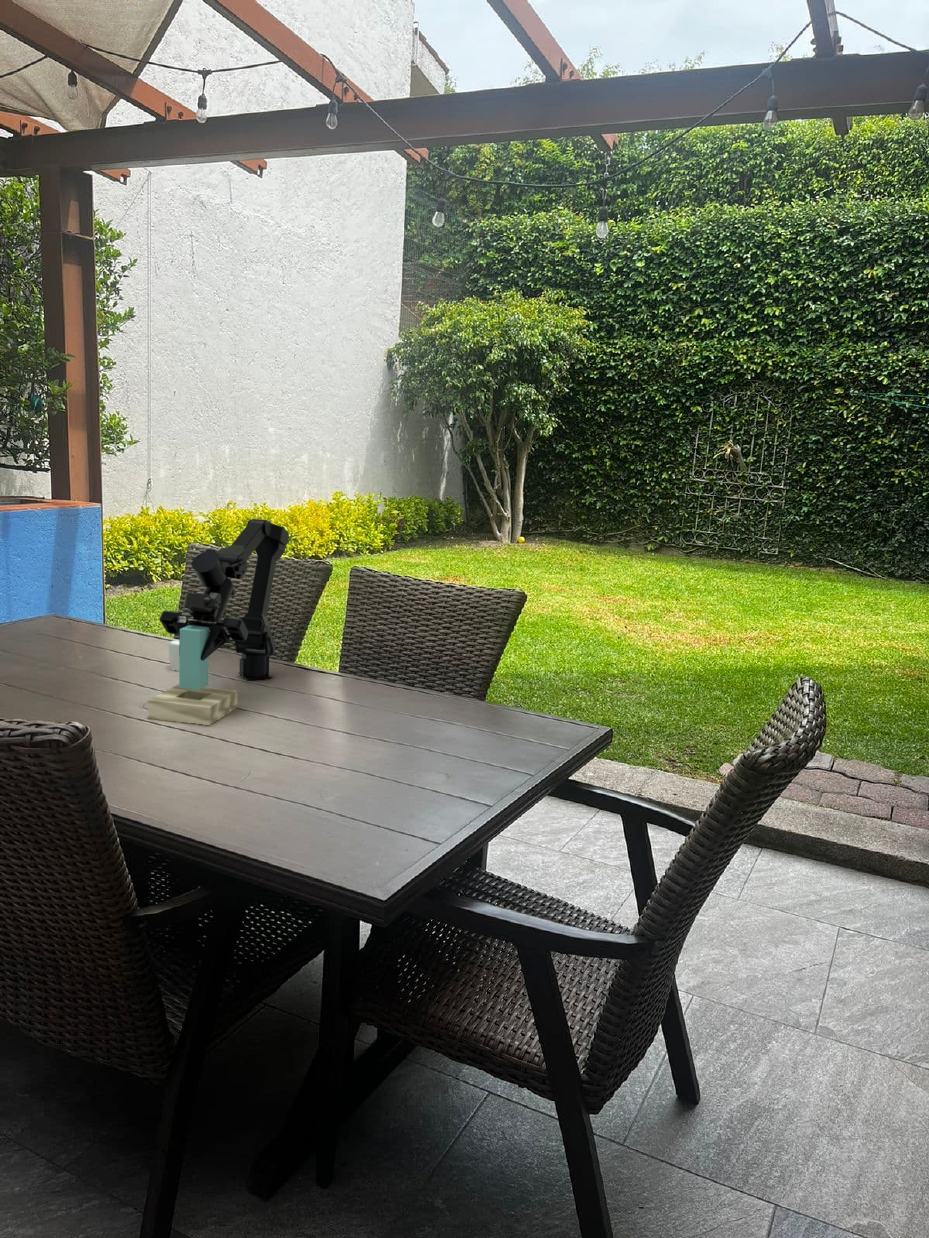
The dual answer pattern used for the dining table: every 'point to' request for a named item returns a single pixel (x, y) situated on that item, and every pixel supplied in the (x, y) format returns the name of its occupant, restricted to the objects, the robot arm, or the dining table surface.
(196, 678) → the peg
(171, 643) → the white short cylinder
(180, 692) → the pocket block
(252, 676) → the robot arm
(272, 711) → the dining table surface
